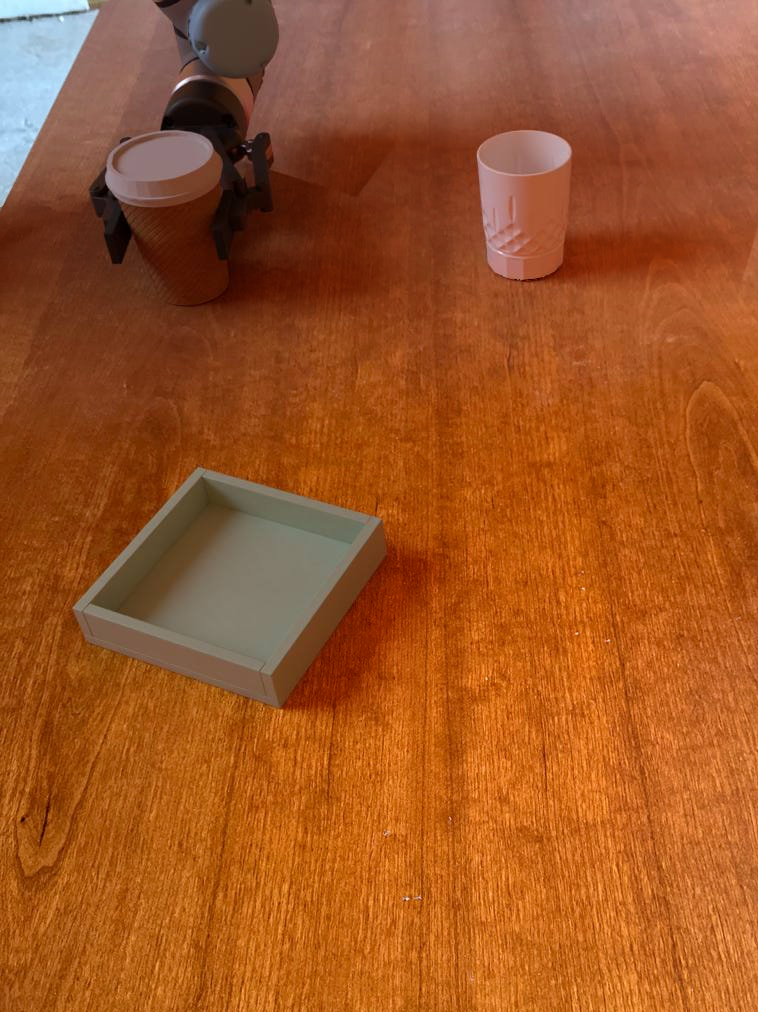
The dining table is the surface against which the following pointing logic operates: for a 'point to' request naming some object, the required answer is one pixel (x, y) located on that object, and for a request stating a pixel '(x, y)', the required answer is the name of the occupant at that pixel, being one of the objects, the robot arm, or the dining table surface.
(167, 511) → the square tray
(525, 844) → the dining table surface
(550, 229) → the white cup
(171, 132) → the disposable coffee cup
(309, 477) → the dining table surface
